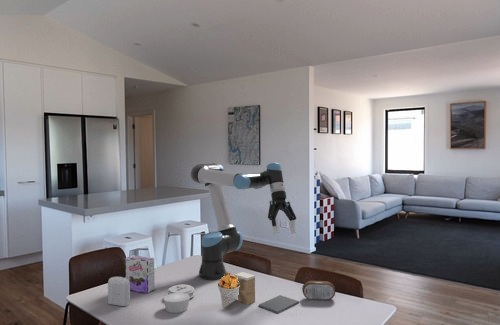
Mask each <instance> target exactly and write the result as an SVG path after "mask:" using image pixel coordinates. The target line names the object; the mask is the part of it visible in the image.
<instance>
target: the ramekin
mask: <svg viewBox="0 0 500 325" xmlns="http://www.w3.org/2000/svg"><path fill="white" fill-rule="evenodd" d="M190 299H191V298H190V296H189V295H188V294H186V293H173V294H169V295H168V294H167V295H165V296H164V297H163V302H164V305H165V306H164V307H165V310H166V311H167V312H168V313H170V314H179V313H183V312H185V311H187V309H189V304H190Z"/></svg>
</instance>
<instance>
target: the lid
mask: <svg viewBox="0 0 500 325" xmlns="http://www.w3.org/2000/svg"><path fill="white" fill-rule="evenodd" d="M166 292H167V295H169V294H173V293H186V294H188V295H189V296H190V299H192V298H194V297H195V288H194V287H193V285H189V284H182V283H181V284H176V285H175V284H174V285H173V286H170V287H169V288H168V289H167V291H166Z"/></svg>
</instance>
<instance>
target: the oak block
mask: <svg viewBox="0 0 500 325" xmlns="http://www.w3.org/2000/svg"><path fill="white" fill-rule="evenodd" d="M235 276H238V281H239V283H240V287H239V295H238V301H237V302H239V303H242V304H244V305H247V306H248V305H251V304H253V303H255V302H256V275H255V274H251V273H248V272H244V271H241V272H239V273H236V274H234V277H235Z"/></svg>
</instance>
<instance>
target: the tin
mask: <svg viewBox="0 0 500 325" xmlns="http://www.w3.org/2000/svg"><path fill="white" fill-rule="evenodd" d="M302 294H303V296H304V297H305V298H306V299H307V300H311V301H330V300H332V299H333V298H334V297H335V296H336V287H335V285H334V284H333V283H332V282H330V281H327V280H326V281H325V280H307V281H306V282H305V283H303V285H302Z"/></svg>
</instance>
